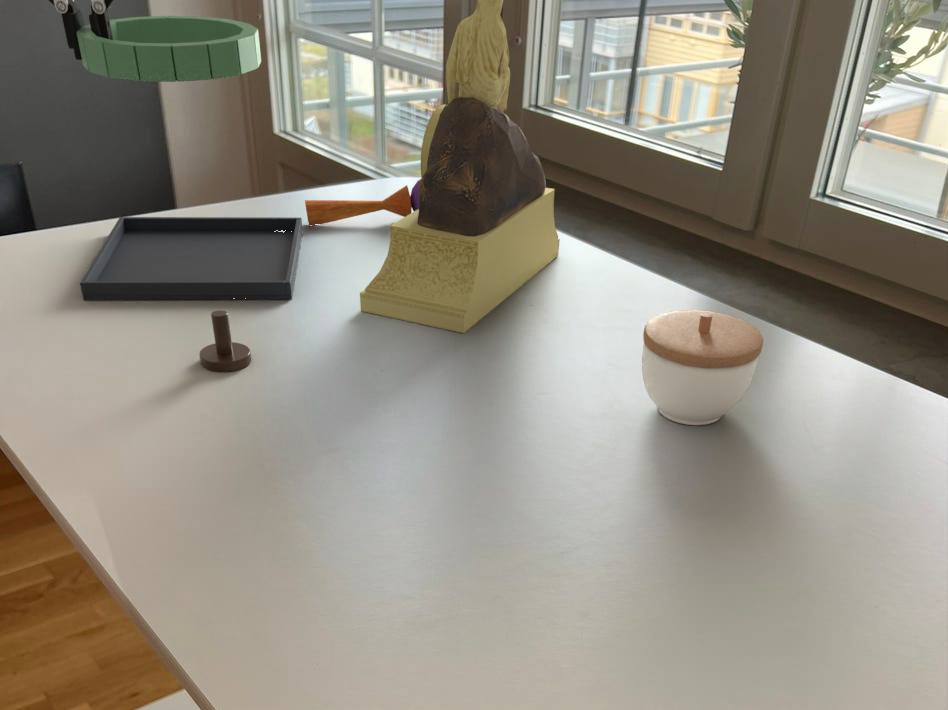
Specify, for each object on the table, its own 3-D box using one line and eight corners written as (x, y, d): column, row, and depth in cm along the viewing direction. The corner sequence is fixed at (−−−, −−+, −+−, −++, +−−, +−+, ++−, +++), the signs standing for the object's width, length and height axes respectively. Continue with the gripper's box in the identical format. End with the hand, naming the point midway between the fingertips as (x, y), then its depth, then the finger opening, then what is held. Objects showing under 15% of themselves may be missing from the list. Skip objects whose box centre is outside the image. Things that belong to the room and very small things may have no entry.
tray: (83, 300, 111) (79, 282, 110) (122, 232, 129) (119, 216, 128) (292, 299, 113) (290, 282, 112) (302, 233, 131) (301, 217, 130)
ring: (65, 80, 95) (57, 44, 93) (106, 46, 108) (100, 14, 106) (250, 83, 96) (246, 47, 94) (268, 49, 109) (265, 17, 107)
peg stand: (197, 372, 98) (189, 323, 95) (204, 351, 102) (196, 303, 99) (248, 371, 99) (242, 323, 95) (253, 350, 102) (247, 303, 99)
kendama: (302, 187, 133) (448, 171, 135) (310, 234, 136) (453, 218, 138) (303, 191, 128) (455, 174, 130) (311, 240, 131) (459, 223, 133)
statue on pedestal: (467, 238, 131) (473, -34, 112) (558, 255, 127) (580, -25, 108) (360, 310, 111) (345, -6, 92) (463, 333, 107) (470, 8, 88)
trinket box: (674, 446, 89) (691, 347, 83) (612, 396, 97) (624, 301, 91) (769, 425, 93) (792, 328, 87) (703, 378, 100) (720, 286, 94)
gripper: (-57, -178, 86) (3, 63, 98) (127, -172, 87) (164, 66, 99) (-28, -179, 92) (25, 49, 104) (144, -174, 93) (177, 52, 105)
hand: (93, 56), depth 101 cm, fingers closed on ring, 1 cm apart
